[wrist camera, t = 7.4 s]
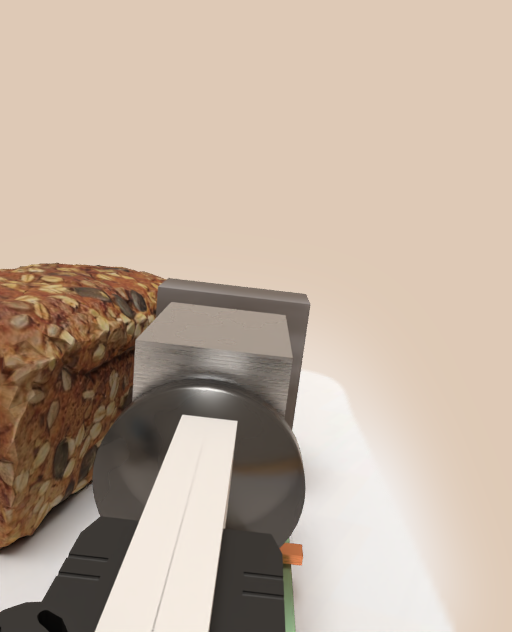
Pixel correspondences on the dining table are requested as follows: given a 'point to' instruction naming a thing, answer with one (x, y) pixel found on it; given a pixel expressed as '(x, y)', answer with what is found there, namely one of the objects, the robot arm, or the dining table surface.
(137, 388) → the brushed steel block
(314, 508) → the dining table surface
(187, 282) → the gauge body
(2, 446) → the bread
